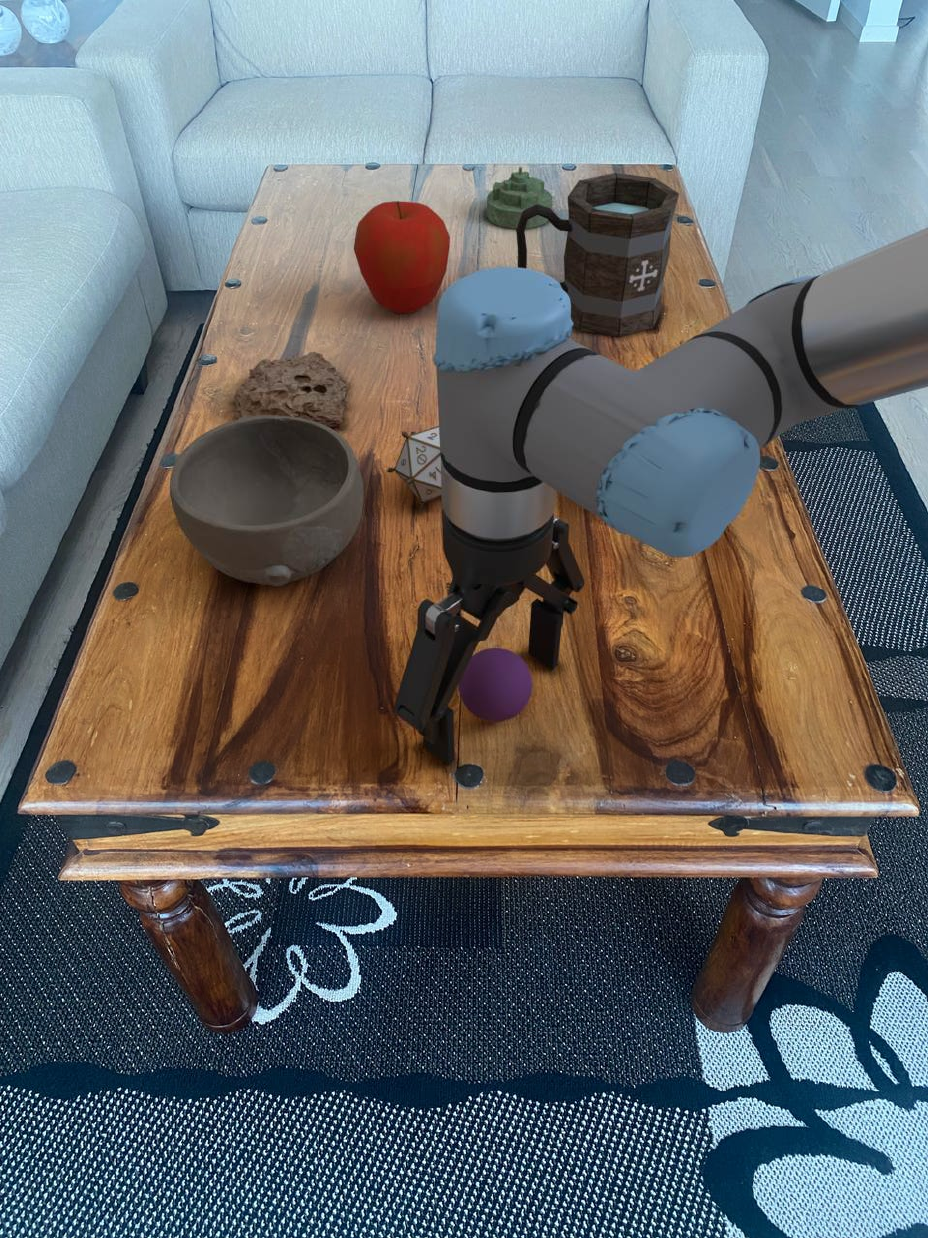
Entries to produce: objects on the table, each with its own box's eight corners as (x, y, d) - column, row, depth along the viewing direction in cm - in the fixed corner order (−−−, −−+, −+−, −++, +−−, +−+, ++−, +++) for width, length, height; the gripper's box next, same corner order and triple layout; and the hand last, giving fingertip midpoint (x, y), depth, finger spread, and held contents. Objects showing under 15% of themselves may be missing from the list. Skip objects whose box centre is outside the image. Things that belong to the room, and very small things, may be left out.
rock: (344, 433, 104) (341, 405, 101) (227, 433, 104) (220, 405, 101) (357, 362, 114) (354, 334, 111) (250, 362, 114) (244, 335, 111)
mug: (652, 284, 127) (668, 171, 116) (671, 335, 117) (691, 217, 106) (509, 288, 126) (512, 175, 115) (517, 340, 117) (521, 222, 106)
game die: (451, 528, 98) (479, 502, 88) (374, 506, 96) (394, 477, 86) (467, 451, 100) (496, 417, 90) (392, 428, 98) (414, 391, 88)
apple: (378, 338, 118) (368, 229, 107) (347, 297, 125) (335, 191, 115) (466, 317, 121) (464, 209, 111) (431, 278, 129) (426, 174, 118)
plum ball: (545, 705, 77) (549, 658, 73) (498, 749, 74) (499, 703, 70) (491, 668, 80) (492, 621, 75) (444, 709, 77) (442, 663, 72)
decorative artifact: (565, 215, 142) (521, 195, 147) (568, 168, 137) (523, 149, 142) (516, 234, 138) (473, 213, 143) (518, 186, 132) (473, 166, 138)
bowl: (325, 627, 83) (311, 545, 76) (154, 585, 87) (125, 503, 80) (395, 510, 94) (388, 428, 87) (240, 477, 98) (221, 397, 91)
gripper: (567, 406, 69) (549, 603, 85) (321, 578, 57) (354, 772, 72) (650, 446, 65) (616, 644, 81) (408, 638, 53) (423, 828, 69)
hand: (493, 705), depth 77 cm, fingers open, 12 cm apart
